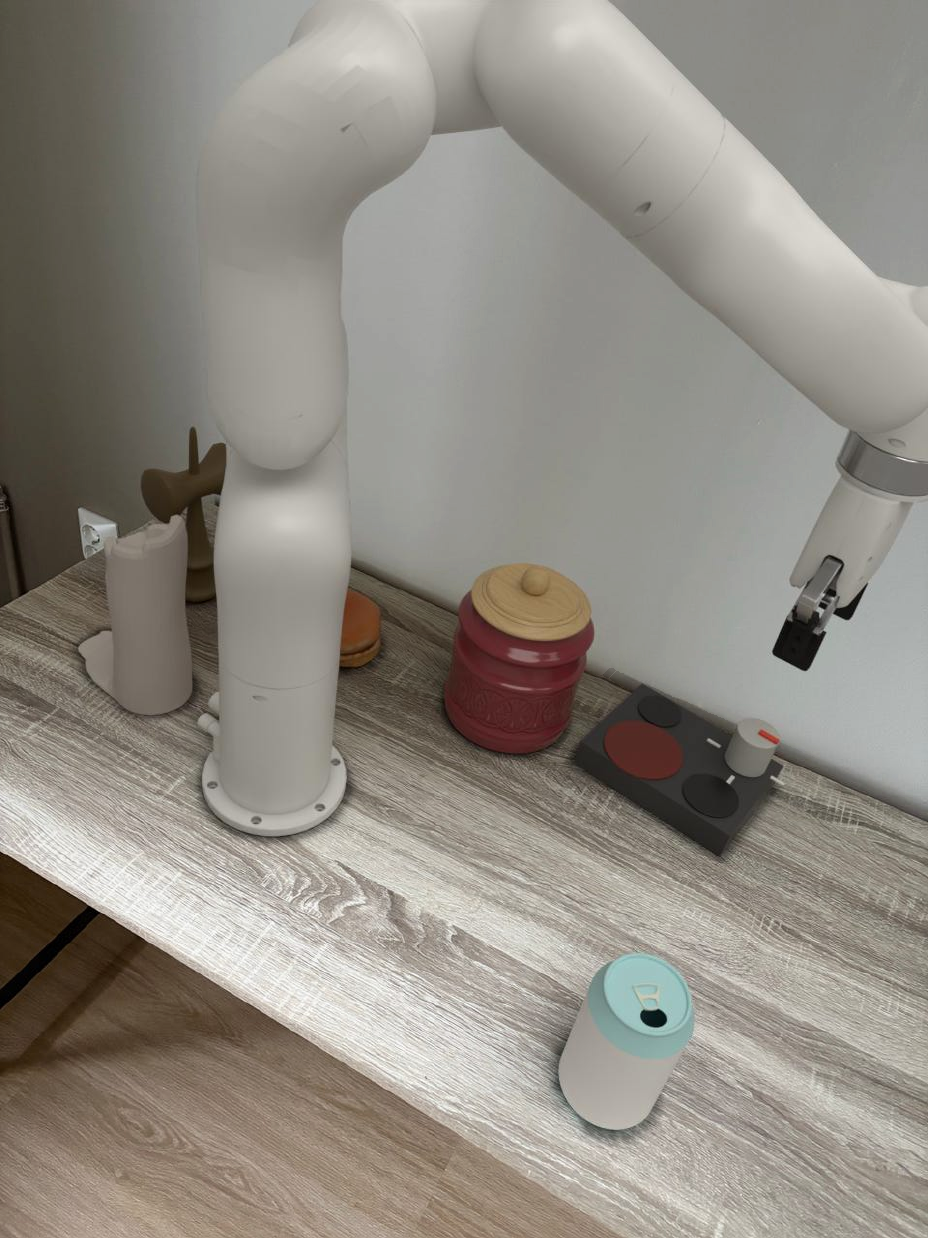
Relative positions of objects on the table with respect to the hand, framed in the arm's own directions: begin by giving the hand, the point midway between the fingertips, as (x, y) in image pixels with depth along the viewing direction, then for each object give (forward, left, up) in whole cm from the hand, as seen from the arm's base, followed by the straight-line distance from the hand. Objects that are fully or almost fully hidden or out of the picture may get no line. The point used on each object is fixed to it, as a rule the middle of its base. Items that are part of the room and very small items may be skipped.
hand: (812, 636), depth 84 cm
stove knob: (-1, 0, -16) cm, 16 cm away
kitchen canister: (-23, -8, -20) cm, 31 cm away
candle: (-52, -31, -20) cm, 64 cm away
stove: (-6, -3, -19) cm, 20 cm away
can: (+5, -34, -20) cm, 40 cm away
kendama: (-58, -18, -20) cm, 64 cm away
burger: (-42, -13, -20) cm, 48 cm away
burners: (-6, -4, -16) cm, 18 cm away
